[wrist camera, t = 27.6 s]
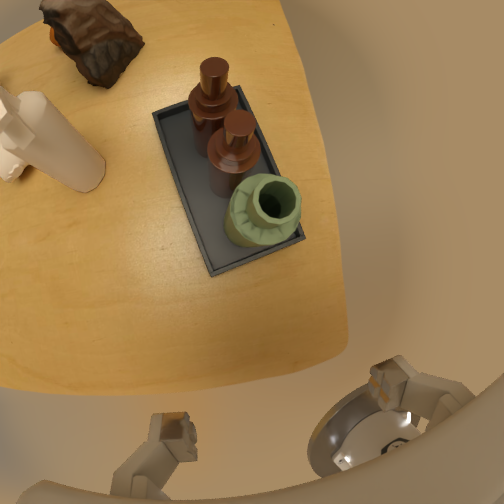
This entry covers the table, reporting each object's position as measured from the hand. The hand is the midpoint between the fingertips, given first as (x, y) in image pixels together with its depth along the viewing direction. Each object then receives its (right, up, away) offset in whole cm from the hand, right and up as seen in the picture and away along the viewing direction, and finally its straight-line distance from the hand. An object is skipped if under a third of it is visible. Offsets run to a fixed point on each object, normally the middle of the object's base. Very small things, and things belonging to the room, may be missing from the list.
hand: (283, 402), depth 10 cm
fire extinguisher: (-26, +19, +24) cm, 40 cm away
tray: (-5, +17, +27) cm, 32 cm away
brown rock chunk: (-26, +40, +24) cm, 53 cm away
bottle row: (-6, +19, +26) cm, 32 cm away
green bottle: (-2, +10, +26) cm, 28 cm away
